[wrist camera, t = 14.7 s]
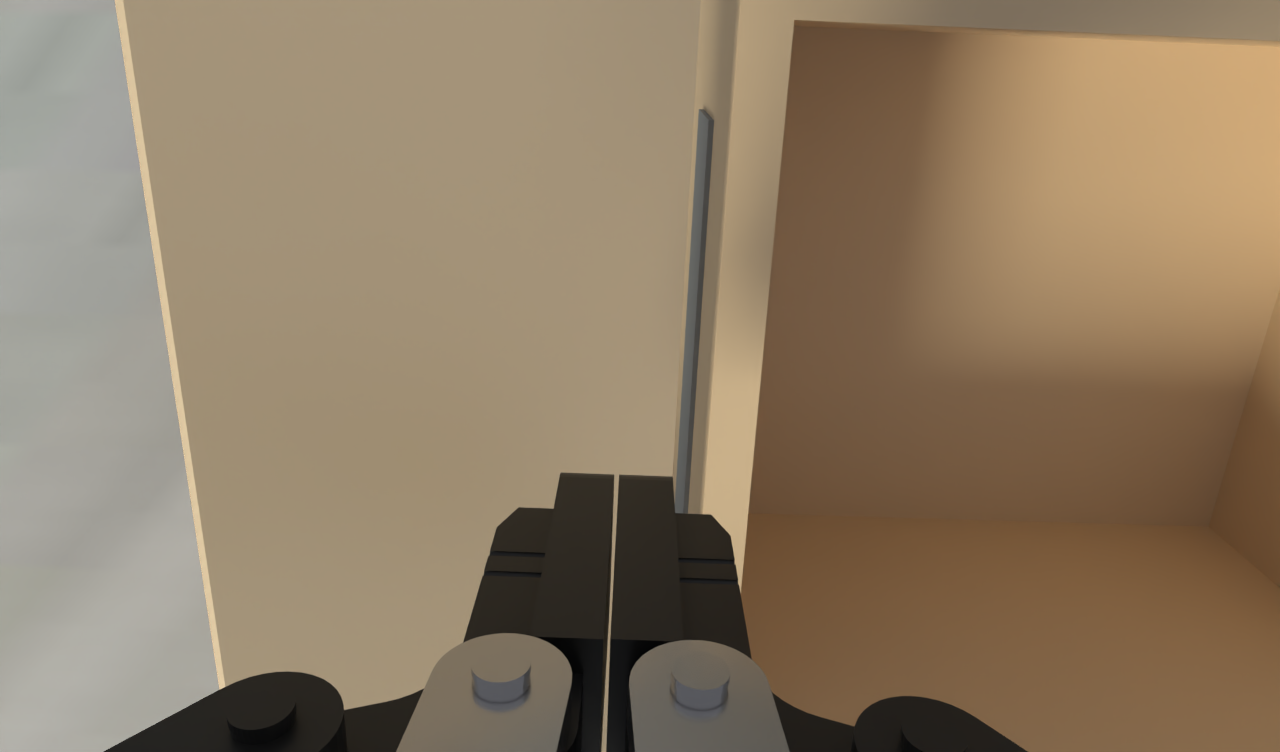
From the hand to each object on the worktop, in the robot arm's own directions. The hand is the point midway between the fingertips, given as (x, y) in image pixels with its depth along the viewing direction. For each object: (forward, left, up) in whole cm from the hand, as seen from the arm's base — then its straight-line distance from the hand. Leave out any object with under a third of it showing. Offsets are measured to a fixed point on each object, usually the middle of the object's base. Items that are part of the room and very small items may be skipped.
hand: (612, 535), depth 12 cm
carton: (-10, 0, -14) cm, 17 cm away
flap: (+2, 0, -1) cm, 2 cm away
